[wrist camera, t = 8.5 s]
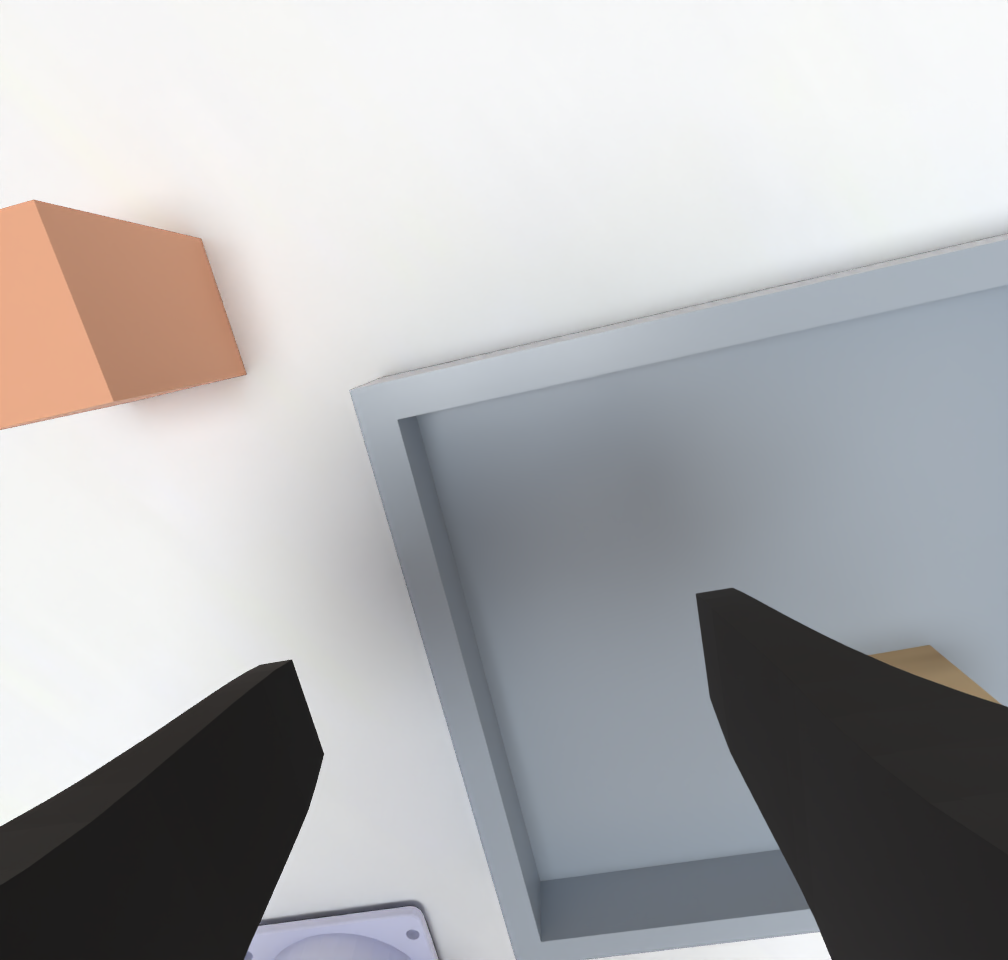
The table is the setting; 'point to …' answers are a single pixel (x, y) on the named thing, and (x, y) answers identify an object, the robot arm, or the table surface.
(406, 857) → the table surface
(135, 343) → the terracotta block
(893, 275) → the slate tray
